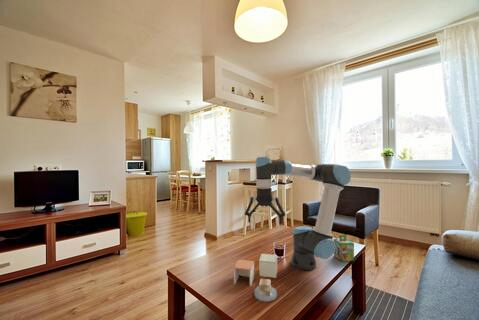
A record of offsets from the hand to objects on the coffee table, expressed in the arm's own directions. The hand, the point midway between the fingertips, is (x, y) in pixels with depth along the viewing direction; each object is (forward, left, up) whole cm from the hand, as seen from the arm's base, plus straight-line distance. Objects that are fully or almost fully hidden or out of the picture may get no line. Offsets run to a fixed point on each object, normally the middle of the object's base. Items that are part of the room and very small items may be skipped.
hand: (265, 229), depth 107 cm
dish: (0, +3, -31) cm, 31 cm away
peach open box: (+13, -7, -31) cm, 34 cm away
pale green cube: (+1, -17, -31) cm, 35 cm away
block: (0, +3, -29) cm, 30 cm away
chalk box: (-45, -46, -31) cm, 71 cm away
